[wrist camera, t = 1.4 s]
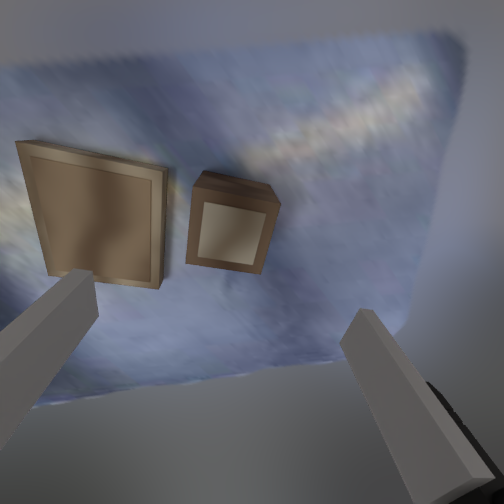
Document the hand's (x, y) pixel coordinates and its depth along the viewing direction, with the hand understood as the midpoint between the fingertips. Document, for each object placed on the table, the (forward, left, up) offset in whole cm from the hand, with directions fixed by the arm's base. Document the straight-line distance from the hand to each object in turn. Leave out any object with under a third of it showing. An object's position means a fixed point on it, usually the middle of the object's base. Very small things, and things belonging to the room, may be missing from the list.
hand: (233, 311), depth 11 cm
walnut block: (0, 0, -16) cm, 16 cm away
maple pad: (-13, -4, -16) cm, 21 cm away
